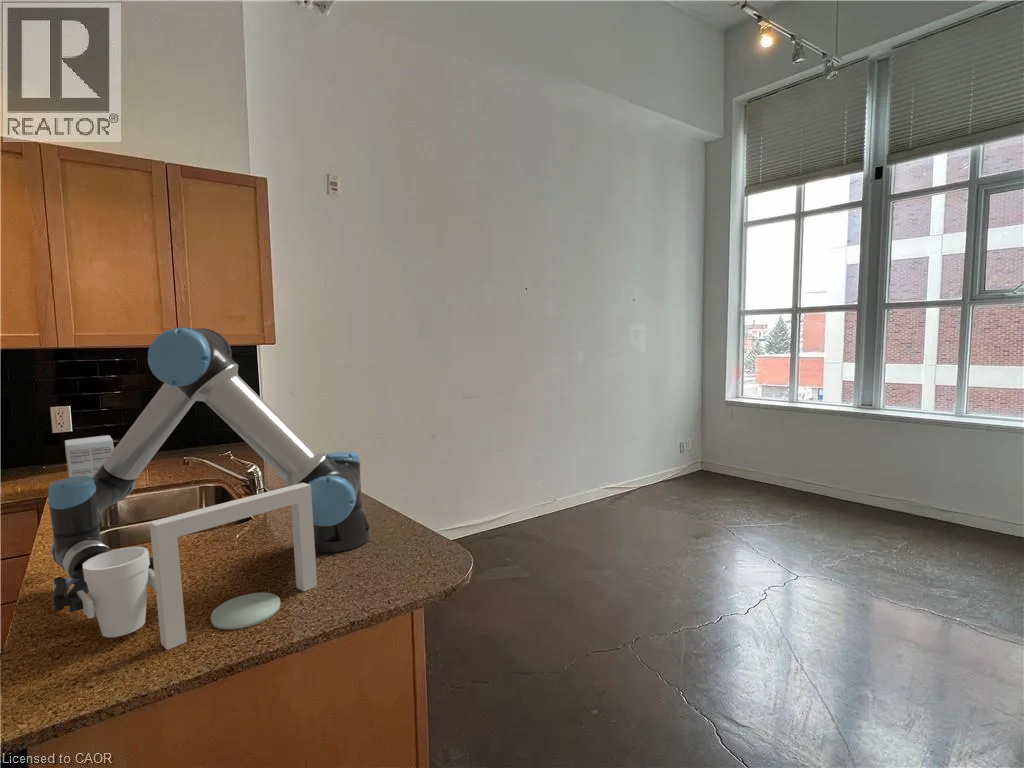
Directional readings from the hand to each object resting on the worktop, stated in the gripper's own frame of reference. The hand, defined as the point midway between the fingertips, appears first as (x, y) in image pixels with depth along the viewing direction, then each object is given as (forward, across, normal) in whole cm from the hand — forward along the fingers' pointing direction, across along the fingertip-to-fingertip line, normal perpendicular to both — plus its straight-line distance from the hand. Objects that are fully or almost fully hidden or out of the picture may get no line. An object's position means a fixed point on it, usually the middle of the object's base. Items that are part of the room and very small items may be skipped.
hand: (127, 597), depth 90 cm
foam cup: (-4, 0, -7) cm, 8 cm away
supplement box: (-127, -23, -8) cm, 130 cm away
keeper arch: (+6, -17, -9) cm, 20 cm away
